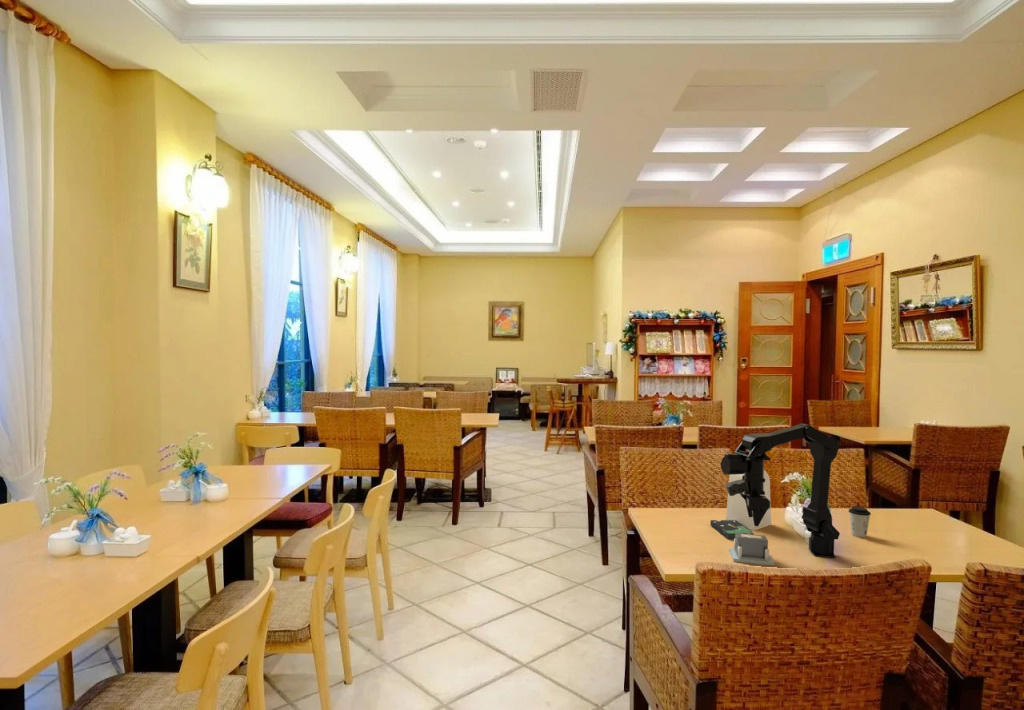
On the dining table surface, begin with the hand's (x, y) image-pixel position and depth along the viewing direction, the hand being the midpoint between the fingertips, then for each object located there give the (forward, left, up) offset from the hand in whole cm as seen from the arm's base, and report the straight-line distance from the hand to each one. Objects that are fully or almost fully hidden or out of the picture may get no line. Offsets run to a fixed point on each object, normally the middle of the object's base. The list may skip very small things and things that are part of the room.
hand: (753, 521), depth 175 cm
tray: (+1, +1, -12) cm, 12 cm away
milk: (-5, -37, -12) cm, 39 cm away
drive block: (+1, +1, -11) cm, 11 cm away
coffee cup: (-42, -33, -12) cm, 55 cm away
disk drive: (+3, -24, -13) cm, 27 cm away
